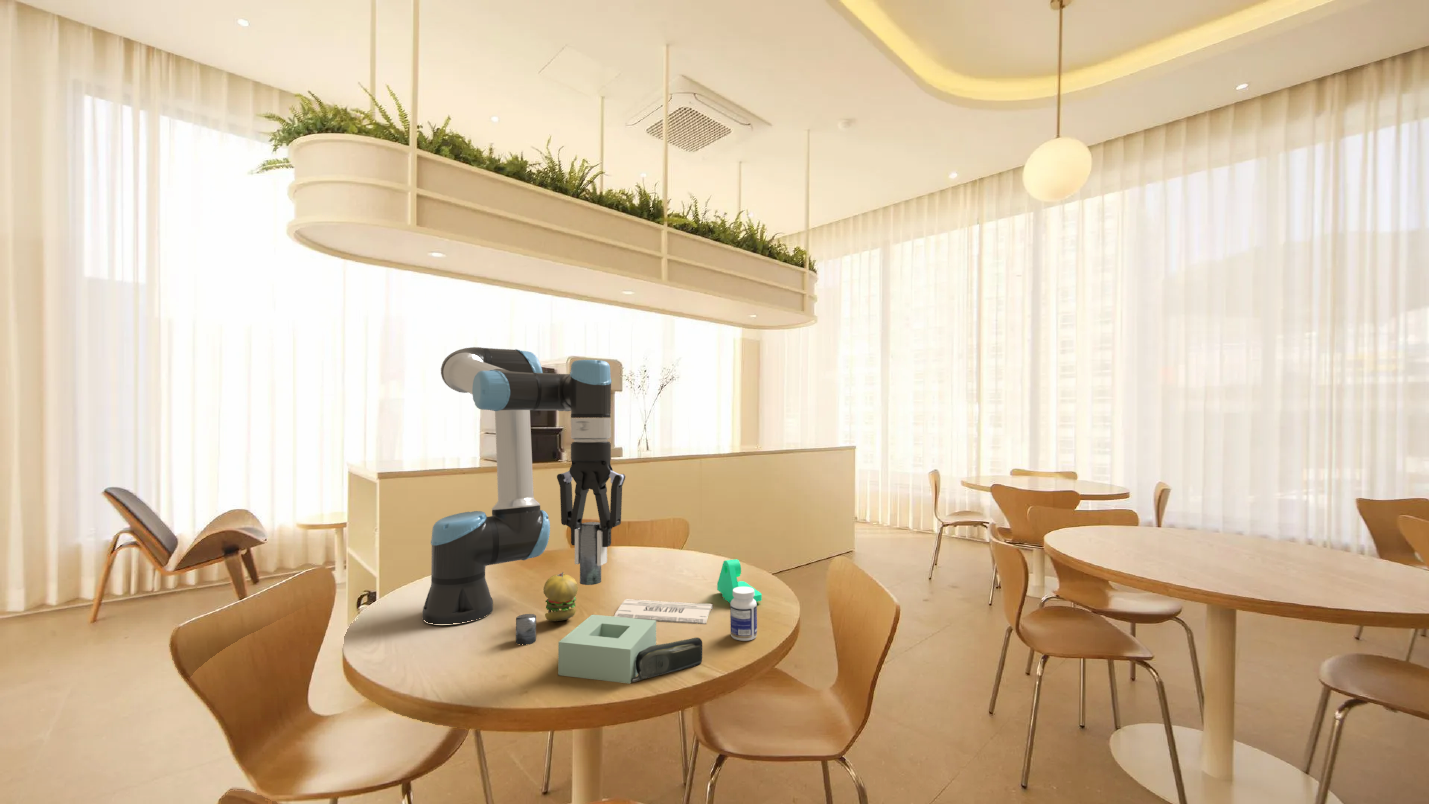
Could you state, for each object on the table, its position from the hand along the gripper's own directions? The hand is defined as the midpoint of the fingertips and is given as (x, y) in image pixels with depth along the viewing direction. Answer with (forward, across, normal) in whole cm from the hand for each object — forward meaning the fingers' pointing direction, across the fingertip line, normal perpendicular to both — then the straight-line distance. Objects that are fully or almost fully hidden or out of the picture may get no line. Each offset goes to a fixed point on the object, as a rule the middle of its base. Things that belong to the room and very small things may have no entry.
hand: (591, 562), depth 106 cm
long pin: (+4, 0, 0) cm, 4 cm away
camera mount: (+20, +20, +44) cm, 52 cm away
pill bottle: (+20, +26, +20) cm, 38 cm away
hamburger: (+19, -16, +17) cm, 31 cm away
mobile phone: (+20, +15, +1) cm, 25 cm away
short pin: (+19, -18, +6) cm, 27 cm away
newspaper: (+20, +4, +30) cm, 36 cm away
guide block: (+19, +3, +2) cm, 20 cm away
